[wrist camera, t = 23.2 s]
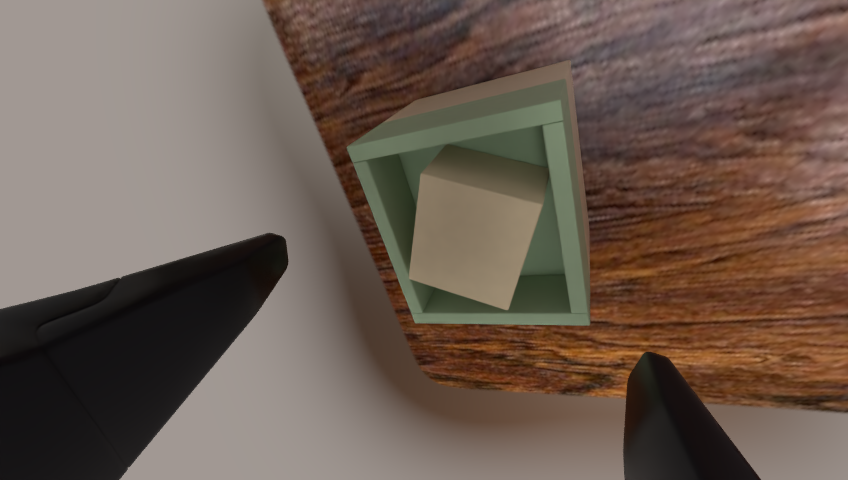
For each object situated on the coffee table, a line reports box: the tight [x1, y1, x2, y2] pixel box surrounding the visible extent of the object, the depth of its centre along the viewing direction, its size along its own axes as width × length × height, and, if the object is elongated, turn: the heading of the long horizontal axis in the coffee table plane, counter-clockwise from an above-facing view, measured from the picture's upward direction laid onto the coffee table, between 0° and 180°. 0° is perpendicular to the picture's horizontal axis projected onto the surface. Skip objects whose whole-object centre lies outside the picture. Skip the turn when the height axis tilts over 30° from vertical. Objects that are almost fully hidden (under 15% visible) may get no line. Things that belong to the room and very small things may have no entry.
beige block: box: [409, 144, 549, 310], centre depth 15 cm, size 5×4×3 cm
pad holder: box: [347, 60, 590, 325], centre depth 17 cm, size 8×7×7 cm
